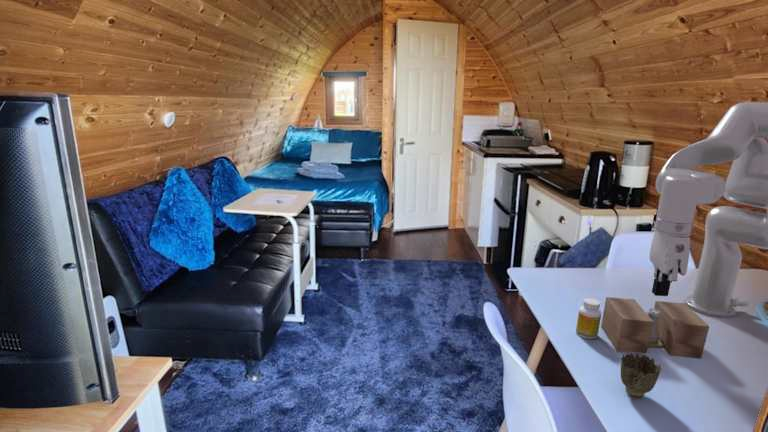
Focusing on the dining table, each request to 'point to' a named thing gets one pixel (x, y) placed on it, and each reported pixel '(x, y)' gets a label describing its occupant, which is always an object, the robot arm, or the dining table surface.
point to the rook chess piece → (654, 324)
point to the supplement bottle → (589, 319)
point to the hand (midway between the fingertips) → (659, 294)
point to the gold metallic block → (656, 345)
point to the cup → (639, 374)
